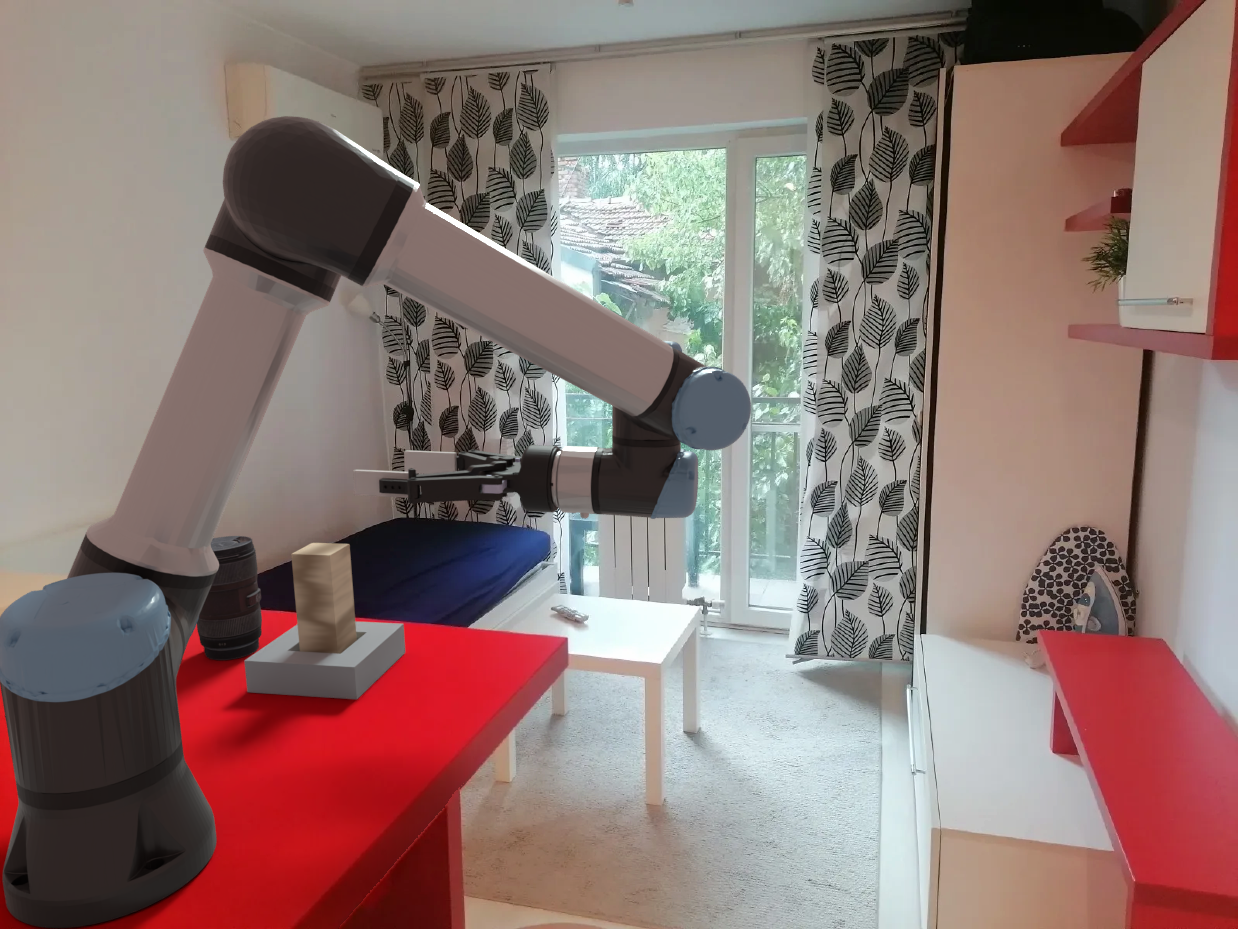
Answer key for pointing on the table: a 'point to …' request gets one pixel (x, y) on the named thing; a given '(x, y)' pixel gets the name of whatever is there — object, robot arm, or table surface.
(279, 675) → the socket block
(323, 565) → the peg
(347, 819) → the table surface
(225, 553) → the camera lens
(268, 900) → the table surface
